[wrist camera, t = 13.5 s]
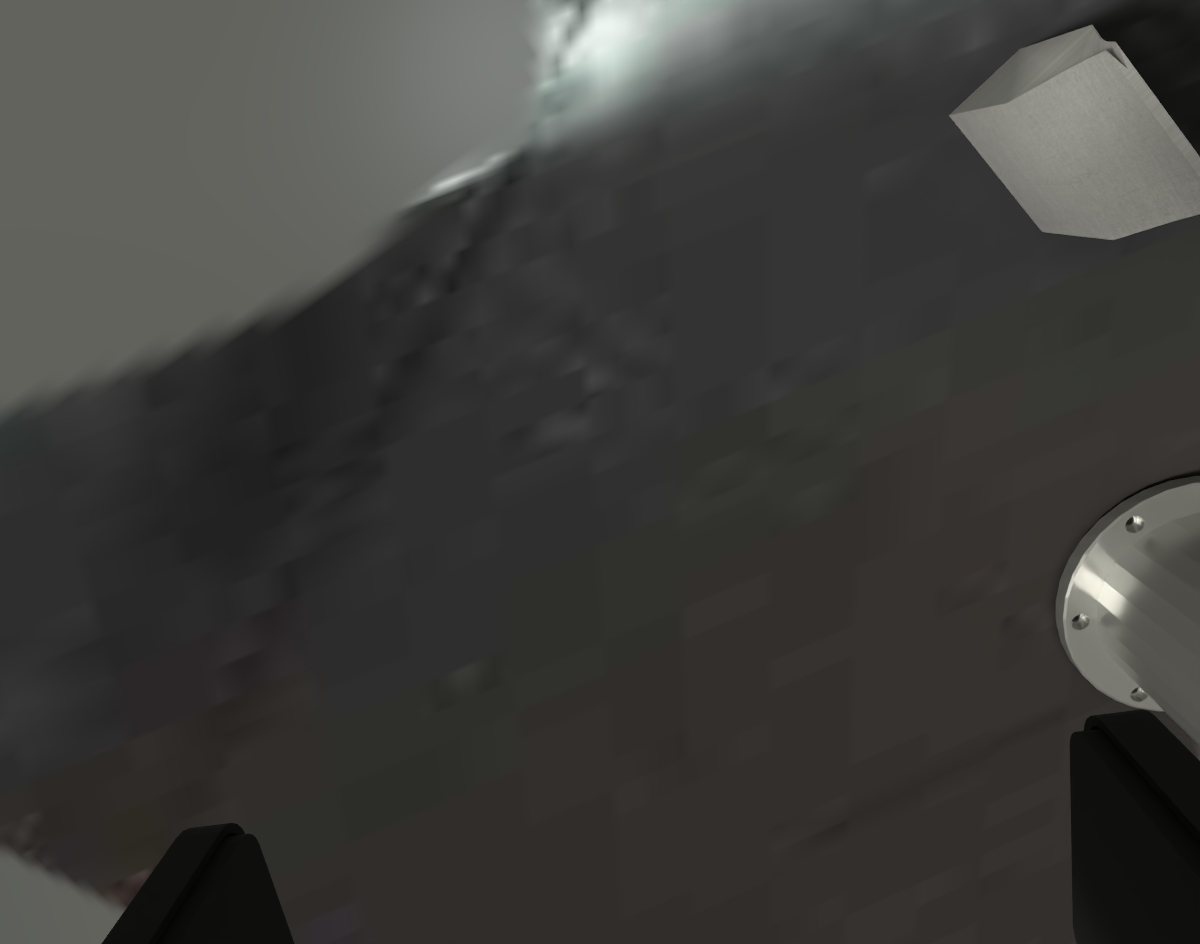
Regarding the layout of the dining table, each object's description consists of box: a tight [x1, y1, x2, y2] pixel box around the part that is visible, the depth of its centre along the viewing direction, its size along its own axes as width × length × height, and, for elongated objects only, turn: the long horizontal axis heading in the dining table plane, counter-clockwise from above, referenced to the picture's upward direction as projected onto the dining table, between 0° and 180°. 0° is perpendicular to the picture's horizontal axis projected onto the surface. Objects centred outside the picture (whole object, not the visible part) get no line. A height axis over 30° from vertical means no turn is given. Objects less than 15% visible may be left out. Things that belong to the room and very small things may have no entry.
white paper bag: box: [949, 25, 1200, 240], centre depth 33 cm, size 4×7×10 cm, turn 45°
